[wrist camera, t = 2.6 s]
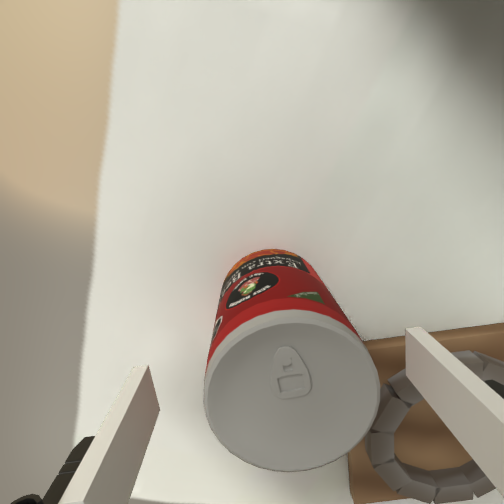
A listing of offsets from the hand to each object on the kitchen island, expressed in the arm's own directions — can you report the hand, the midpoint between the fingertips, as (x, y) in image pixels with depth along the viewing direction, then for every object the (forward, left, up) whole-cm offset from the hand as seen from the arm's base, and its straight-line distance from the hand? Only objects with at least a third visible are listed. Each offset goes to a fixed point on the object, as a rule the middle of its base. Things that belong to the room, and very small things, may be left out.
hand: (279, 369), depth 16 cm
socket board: (+13, +13, -8) cm, 20 cm away
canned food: (0, 0, -9) cm, 9 cm away
